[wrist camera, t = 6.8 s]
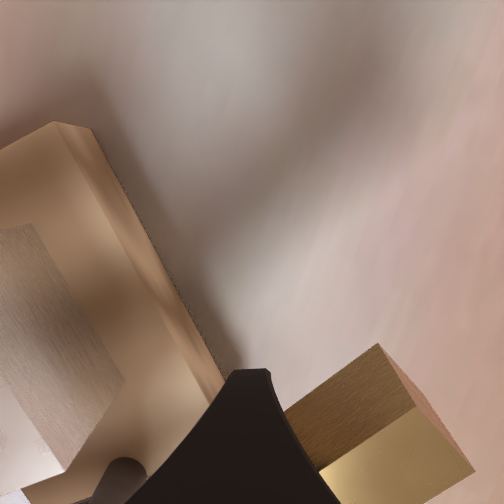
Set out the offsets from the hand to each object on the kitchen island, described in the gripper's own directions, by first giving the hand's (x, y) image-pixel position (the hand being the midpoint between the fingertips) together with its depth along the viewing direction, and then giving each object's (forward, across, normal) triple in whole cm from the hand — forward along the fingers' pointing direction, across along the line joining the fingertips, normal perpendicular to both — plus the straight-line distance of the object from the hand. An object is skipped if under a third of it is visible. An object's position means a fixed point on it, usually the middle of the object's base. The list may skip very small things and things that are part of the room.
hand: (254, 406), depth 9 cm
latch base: (+10, +10, +2) cm, 14 cm away
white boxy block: (+7, +10, 0) cm, 12 cm away
